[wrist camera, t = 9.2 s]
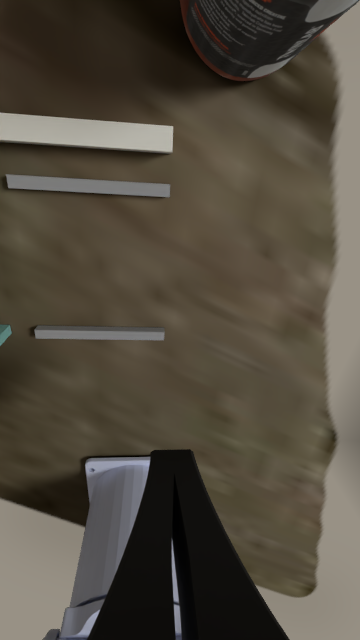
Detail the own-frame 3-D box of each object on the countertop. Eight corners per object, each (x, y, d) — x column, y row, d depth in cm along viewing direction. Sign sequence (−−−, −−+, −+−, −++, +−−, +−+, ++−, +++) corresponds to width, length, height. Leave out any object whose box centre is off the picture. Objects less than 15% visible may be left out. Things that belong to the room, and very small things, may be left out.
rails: (163, 335, 20) (163, 340, 19) (39, 333, 19) (35, 338, 18) (169, 184, 16) (170, 184, 15) (11, 174, 15) (5, 174, 14)
